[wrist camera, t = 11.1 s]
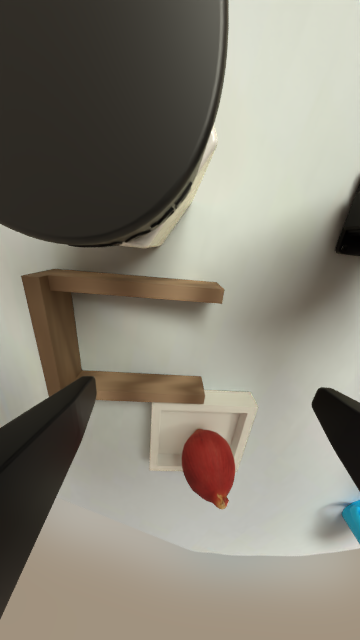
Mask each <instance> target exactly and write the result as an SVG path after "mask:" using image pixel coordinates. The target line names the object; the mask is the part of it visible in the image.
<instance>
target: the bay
mask: <svg viewBox="0 0 360 640" xmlns="http://www.w3.org/2000/svg"><path fill="white" fill-rule="evenodd" d="M21 277H22V282H23V286H24V290H25V295H26V299H27V303H28V308H29V312H30V316H31V321H32V325H33V329H34V334H35V338H36V342H37V347H38V351H39V355H40V360H41V364H42V368H43V373H44V377H45V381H46V386H47V390H48V394H49V397H50V396H52V395H53V394H55V393H56V392H58V391H60V390H61V389H63V388H64V387H66V386H67V385H69V384H71V383H72V382H74V381H75V380H77V379H78V378H80V377H82V376H94V377H95V380H96V390H97V396H96V400H111V401H135V402H159V403H183V404H204V399H205V392H204V388H203V383H202V378H201V377H200V376H180V375H161V374H141V373H122V372H102V371H83V370H82V369H81V361H80V354H79V347H78V339H77V332H76V324H75V317H74V309H73V302H72V295H71V292H76V293H90V294H103V295H116V296H129V297H142V298H155V299H168V300H181V301H194V302H207V303H220V304H222V300H223V294H224V289H223V288H222V287H221V286H220V285H219V284H218V283H217V282H206V281H194V280H182V279H170V278H158V277H146V276H134V275H122V274H110V273H98V272H86V271H74V270H62V269H51V270H47V271H42V272H37V273H32V274H28V275H23V276H21Z"/></svg>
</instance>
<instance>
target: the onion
mask: <svg viewBox="0 0 360 640" xmlns="http://www.w3.org/2000/svg"><path fill="white" fill-rule="evenodd" d="M181 460H182V469H183V472H184V475H185V478H186V480H187V482H188V484H189V486H190V487H191V488H192V490H193V491H194V492H195V493H197V494H198V495H199V496H200V497H202V498H203V499H205V500H206V501H209V502H212V503H213V504H214V505H215V506H216V507H218V508H219V509H224V508H226V506H227V503H228V501H229V500H228V498H227V495H228V493H229V491H230V490H231V488H232V485H233V482H234V476H235V461H234V457H233V454H232V451H231V448H230V446H229V444H228V442H227V441H226V440H225V439H224V438H223V437H222V436H221V435H219V434H218V433H217V432H214V431H210V430H203V429H197V430H196V431H195V432H194V433H193V434H192V435H191V436H190V437H189V438H188V440H187V441H186V443H185V444H184V447H183V451H182V458H181Z"/></svg>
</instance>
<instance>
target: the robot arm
mask: <svg viewBox="0 0 360 640" xmlns="http://www.w3.org/2000/svg"><path fill="white" fill-rule="evenodd" d="M343 246H344V248H343V250H342V247H343ZM335 251H336V253H338V254H346V255H356V256H360V184H359V187H358V190H357V192H356V195H355V198H354V200H353V203H352V206H351V208H350V211H349V214H348V216H347V219H346V222H345V224H344V227H343V229H342V232H341V235H340V237H339V240H338V243H337V245H336V249H335ZM96 396H97V390H96V380H95V377H94V376H82V377H80V378H78V379H77V380H75V381H74V382H72V383H71V384H69V385H67V386H66V387H64V388H63V389H61V390H60V391H58V392H56V393H55V394H53V395H52V396H50V397H48V398H47V399H45V400H44V401H42V402H41V403H39V404H37V405H36V406H34V407H33V408H31V409H30V410H28V411H26V412H25V413H23V414H22V415H20V416H18V417H17V418H15V419H14V420H12V421H11V422H9V423H7V424H6V425H4V426H3V427H1V428H0V619H1V616H2V614H3V612H4V610H5V608H6V606H7V603H8V601H9V599H10V597H11V594H12V592H13V590H14V588H15V586H16V584H17V581H18V579H19V577H20V575H21V573H22V571H23V568H24V566H25V564H26V562H27V560H28V557H29V555H30V553H31V550H32V549H33V546H34V544H35V542H36V540H37V538H38V535H39V533H40V531H41V529H42V527H43V524H44V522H45V520H46V518H47V516H48V513H49V511H50V509H51V507H52V505H53V503H54V500H55V498H56V496H57V494H58V492H59V490H60V487H61V485H62V483H63V481H64V479H65V476H66V474H67V472H68V470H69V468H70V465H71V463H72V461H73V459H74V457H75V454H76V452H77V450H78V448H79V446H80V443H81V441H82V438H83V435H84V433H85V430H86V427H87V424H88V421H89V418H90V415H91V412H92V409H93V406H94V403H95V400H96ZM312 408H313V410H314V412H315V414H316V416H317V418H318V420H319V422H320V424H321V426H322V428H323V430H324V432H325V434H326V435H327V437H328V439H329V441H330V443H331V445H332V447H333V449H334V450H335V452H336V454H337V455H338V457H339V459H340V460H341V462H342V463H343V465H344V467H345V468H346V470H347V472H348V473H349V475H350V476H351V478H352V480H353V481H354V483H355V484H356V486H357V488H358V489H359V491H360V403H359V402H357V401H355V400H353V399H352V398H350V397H348V396H346V395H344V394H342V393H340V392H338V391H336V390H334V389H332V388H323V387H321V388H319V389H318V390H317V392H316V394H315V397H314V399H313V401H312Z"/></svg>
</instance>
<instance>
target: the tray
mask: <svg viewBox="0 0 360 640" xmlns="http://www.w3.org/2000/svg"><path fill="white" fill-rule="evenodd" d="M204 392H205V399H204V404H183V403H159V402H152V416H151V440H150V464H149V470H155V471H183V469H182V460H181V458H182V451H183V447H184V444H185V443H186V441H187V440H188V438H189V437H190V436H191V435H192V434H193V433H194V432H195V431H196V430H197V429H203V430H210V431H214V432H217V433H218V434H219V435H221V436H222V437H223V438H224V439H225V440H226V441H227V442H228V444H229V446H230V448H231V451H232V454H233V457H234V461H235V472H237V470H238V467H239V464H240V461H241V458H242V455H243V452H244V449H245V446H246V443H247V440H248V437H249V434H250V431H251V428H252V425H253V422H254V418H255V415H256V412H257V409H258V406H257V404H256V402H255V400H254V398H253V396H252V394H251V392H237V391H216V390H204Z"/></svg>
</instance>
